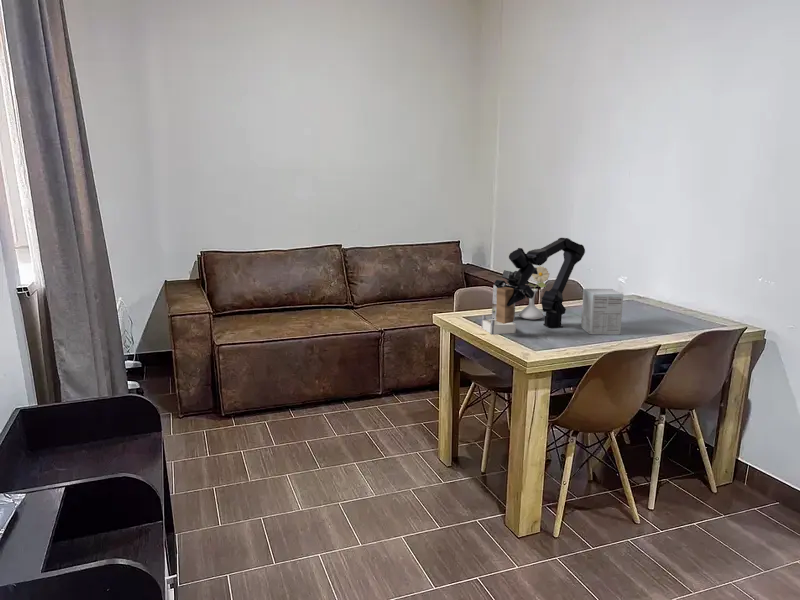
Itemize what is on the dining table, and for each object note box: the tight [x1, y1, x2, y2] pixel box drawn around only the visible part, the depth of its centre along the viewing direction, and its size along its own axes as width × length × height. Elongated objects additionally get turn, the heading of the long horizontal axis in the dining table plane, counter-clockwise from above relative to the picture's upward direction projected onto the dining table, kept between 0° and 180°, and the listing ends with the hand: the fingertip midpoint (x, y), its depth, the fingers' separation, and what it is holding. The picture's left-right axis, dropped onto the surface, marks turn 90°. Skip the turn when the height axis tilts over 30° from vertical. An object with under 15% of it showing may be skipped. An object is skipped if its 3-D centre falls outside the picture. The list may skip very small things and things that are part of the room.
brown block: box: [496, 287, 515, 324], centre depth 248 cm, size 5×5×14 cm
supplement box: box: [580, 288, 625, 336], centre depth 258 cm, size 13×13×18 cm
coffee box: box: [491, 283, 516, 319], centre depth 279 cm, size 9×6×16 cm
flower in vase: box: [518, 265, 550, 320], centre depth 280 cm, size 13×11×25 cm
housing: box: [481, 314, 517, 335], centre depth 258 cm, size 11×11×6 cm
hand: (502, 304), depth 247 cm, fingers closed on brown block, 5 cm apart
